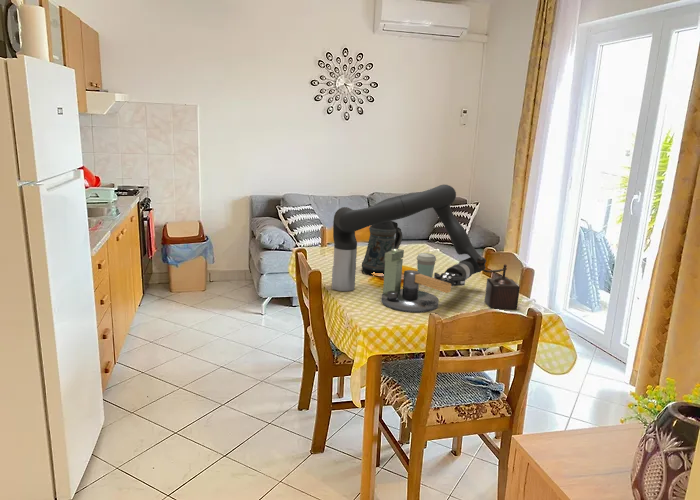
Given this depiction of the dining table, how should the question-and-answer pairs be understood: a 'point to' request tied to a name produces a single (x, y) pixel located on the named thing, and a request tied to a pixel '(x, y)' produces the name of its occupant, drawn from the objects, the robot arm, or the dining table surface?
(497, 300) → the manual coffee grinder
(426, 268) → the coffee cup
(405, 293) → the wooden handled mallet
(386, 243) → the beer stein
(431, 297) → the base
